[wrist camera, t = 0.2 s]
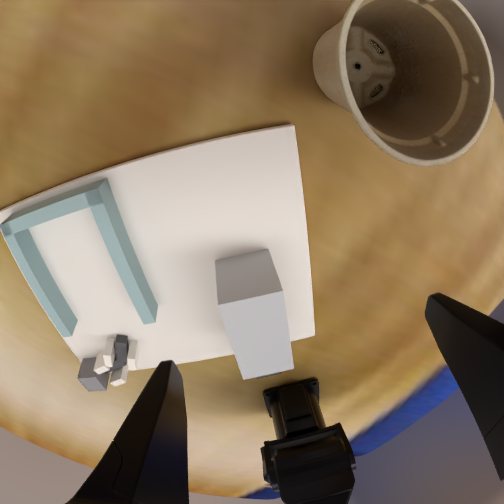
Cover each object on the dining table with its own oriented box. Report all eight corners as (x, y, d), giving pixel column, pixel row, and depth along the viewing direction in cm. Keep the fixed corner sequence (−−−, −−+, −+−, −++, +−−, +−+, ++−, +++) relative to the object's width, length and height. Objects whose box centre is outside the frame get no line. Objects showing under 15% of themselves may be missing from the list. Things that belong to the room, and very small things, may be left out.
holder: (107, 177, 19) (98, 187, 17) (158, 305, 24) (155, 322, 23) (11, 213, 18) (-1, 225, 17) (69, 321, 24) (63, 337, 23)
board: (312, 329, 29) (314, 335, 29) (92, 369, 29) (90, 374, 28) (291, 124, 19) (294, 125, 19) (-2, 211, 19) (-7, 215, 18)
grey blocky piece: (146, 365, 28) (144, 387, 26) (93, 372, 28) (88, 391, 26) (125, 332, 26) (121, 354, 23) (70, 341, 25) (63, 361, 23)
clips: (152, 365, 28) (151, 383, 26) (110, 370, 28) (107, 387, 26) (133, 332, 26) (129, 351, 24) (88, 339, 26) (83, 357, 24)
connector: (268, 248, 23) (283, 290, 19) (284, 343, 29) (296, 385, 24) (214, 260, 23) (217, 305, 19) (242, 353, 29) (249, 396, 24)
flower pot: (384, 150, 21) (460, 193, 14) (267, 104, 19) (307, 121, 11) (422, 45, 17) (508, 49, 9) (311, -16, 14) (372, -60, 7)
